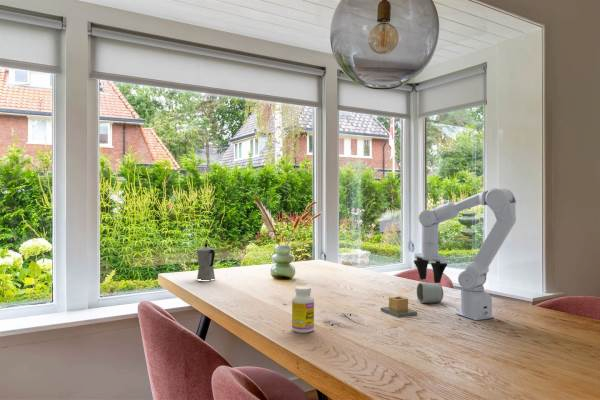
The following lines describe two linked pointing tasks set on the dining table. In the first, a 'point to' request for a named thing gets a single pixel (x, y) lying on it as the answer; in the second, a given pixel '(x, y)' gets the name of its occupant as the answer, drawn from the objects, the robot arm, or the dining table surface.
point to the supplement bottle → (303, 310)
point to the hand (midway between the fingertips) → (430, 281)
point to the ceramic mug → (429, 292)
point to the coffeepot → (206, 263)
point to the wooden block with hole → (398, 303)
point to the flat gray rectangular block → (399, 314)
